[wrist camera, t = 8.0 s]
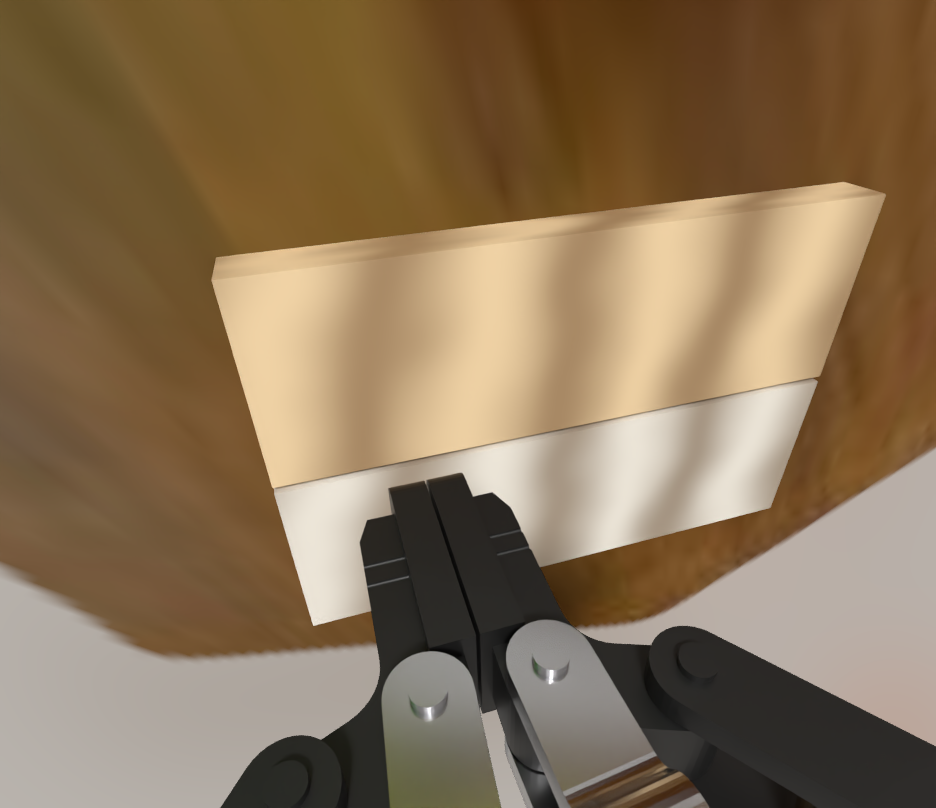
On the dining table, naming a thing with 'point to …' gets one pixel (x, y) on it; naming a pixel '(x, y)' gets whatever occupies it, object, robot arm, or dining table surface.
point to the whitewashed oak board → (565, 486)
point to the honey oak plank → (534, 323)
